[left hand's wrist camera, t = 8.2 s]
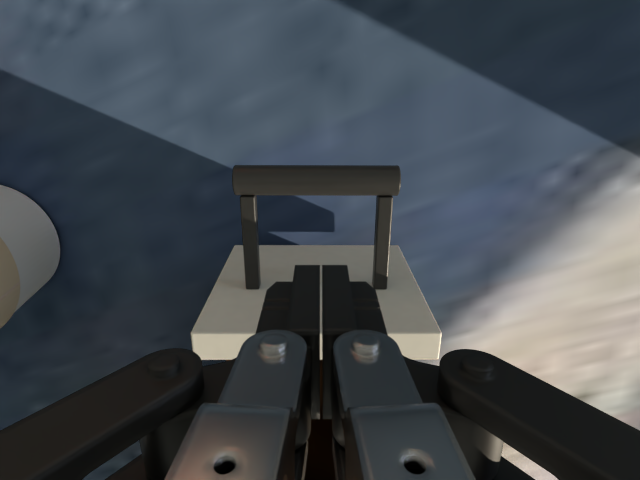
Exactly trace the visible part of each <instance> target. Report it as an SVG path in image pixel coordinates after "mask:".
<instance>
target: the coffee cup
mask: <svg viewBox="0 0 640 480" xmlns="http://www.w3.org/2000/svg"><path fill="white" fill-rule="evenodd" d="M59 260H60V243H59V238H58V235H57V232H56V230H55V227H54V225H53V224H52V222H51V220H50V219H49V217H48V216H47V214H46V213H45V212H44V211H43V210H42V209H41V208H40V207H39V206H38V205H37V204H36V203H35V202H34V201H33V200H31V199H30V198H29V197H27V196H26V195H24V194H22V193H20V192H18V191H16V190H14V189H12V188H9V187H6V186H2V185H0V329H1V328H2V327H3V326H4V325H5V324H6V323H7V322H8V320H9V319H10V318H11V317H12V315H13V313H14V312H16V311H17V310H18V309H19V308H20V307H21V306H22V305H23V304H24V303H25V302H26V301H27V300H28V299H30V298H31V297H32V296H33V295H34V294H35V293H36V292H37V291H38V290H39V289H40V288H41V287H42V286H44V285H45V284H46V283H47V282H48V281H49V280H50V279H51V277H52V276H53V275H54V273H55V271H56V269H57V267H58V264H59Z"/></svg>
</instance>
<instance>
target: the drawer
mask: <svg viewBox="0 0 640 480" xmlns="http://www.w3.org/2000/svg"><path fill="white" fill-rule="evenodd" d="M232 184H233V191H234V194H235V195H241V196H240V206H241V221H242V237H243V245H235V246H234V247H233V249H232V251H231V253H230V255H229V257H228V259H227V261H226V263H225V265H224V267H223V269H222V271H221V273H220V275H219V277H218V279H217V281H216V283H215V285H214V287H213V289H212V291H211V293H210V295H209V297H208V299H207V301H206V303H205V305H204V307H203V309H202V311H201V313H200V315H199V317H198V319H197V321H196V323H195V325H194V327H193V329H192V331H191V341H192V349H193V352H195V353H196V354H198V355H199V357H200V358H201V360H226V361H229V360H232V359H234V358H236V357H237V355H238V353H239V351H240V348H241V346H242V344H243V343H244V342H245V341H246V340H247V339H248V338H249V337H251V336H252V335H254V334H255V333H256V330H257V326H258V322H259V318H260V314H261V310H262V306H263V302H264V299H265V295H266V291H267V289H268V288H270V287H271V286H272V285H273V284H274V283H275V282H293V275H294V268H295V265H320V419H311V432H310V435H309V438H308V454H307V462H306V469H305V477H304V480H336V477H335V469H334V462H333V454H332V419H323V379H322V265H347V266H348V273H349V280H350V281H366V282H367V283H368V284H369V285H371V286H372V287H373V288H374V289H375V290H376V293H377V297H378V302H379V305H380V310H381V312H382V316H383V319H384V323H385V327H386V330H387V334H388V336H389V337H391V338H392V339H393V340H394V341H395V342H396V343H397V344H398V346H399V348H400V351H401V353H402V355H403V356H405V357H407V358H409V359H438V358H439V351H440V343H441V335H442V333H441V331H440V329H439V327H438V325H437V323H436V321H435V319H434V317H433V315H432V313H431V311H430V308H429V306H428V304H427V302H426V300H425V298H424V296H423V294H422V292H421V290H420V288H419V286H418V284H417V282H416V280H415V278H414V276H413V274H412V272H411V270H410V268H409V266H408V264H407V262H406V260H405V258H404V256H403V254H402V252H401V250H400V248H399V246H398V245H390V236H391V221H392V206H393V197H392V196H397V195H398V194H399V191H400V184H401V173H400V168H399V166H348V165H235V166H234V168H233V173H232ZM256 195H377V200H376V219H375V238H374V245H259V237H258V217H257V197H256Z"/></svg>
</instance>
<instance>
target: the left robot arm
mask: <svg viewBox="0 0 640 480" xmlns="http://www.w3.org/2000/svg"><path fill="white" fill-rule="evenodd" d="M322 379H323V419H332V454H333V462H334V469H335V477H336V480H535V479H533V478H532V477H531V476H529V475H528V474H526V473H525V472H523V471H522V470H520V469H519V468H518V467H516V466H515V465H513V464H512V463H510V462H509V461H508V460H506V459H505V458H503V457H502V456H501V453H502V448H503V443H504V442H505V443H506V444H508V445H509V446H511V447H512V448H514V449H515V450H517V451H518V452H520V453H521V454H523V455H524V456H526V457H527V458H529V459H530V460H532V461H533V462H535V463H536V464H538V465H539V466H541V467H542V468H544V469H545V470H547V471H548V472H550V473H551V474H553V475H554V476H555V477H556V478H558V479H559V480H640V431H639V430H637V429H635V428H633V427H632V426H630V425H628V424H626V423H624V422H622V421H620V420H618V419H616V418H614V417H612V416H610V415H608V414H606V413H604V412H602V411H600V410H598V409H597V408H595V407H593V406H591V405H589V404H587V403H585V402H583V401H581V400H579V399H577V398H575V397H573V396H571V395H569V394H567V393H565V392H564V391H562V390H560V389H558V388H556V387H554V386H552V385H550V384H548V383H546V382H544V381H542V380H540V379H538V378H536V377H534V376H532V375H530V374H529V373H527V372H525V371H523V370H521V369H519V368H517V367H515V366H513V365H511V364H509V363H507V362H505V361H503V360H501V359H499V358H497V357H495V356H493V355H491V354H488V353H485V352H482V351H478V350H471V349H460V350H454V351H451V352H448V353H446V354H445V355H444V356H443V357H442V358H441V360H440V366H436V365H431V364H426V363H422V362H418V361H414V360H412V359H409V358H407V357H405V356H403V355H402V353H401V351H400V348H399V346H398V344H397V343H396V342H395V341H394V340H393V339H392V338H391V337H389V336H388V334H387V330H386V327H385V323H384V319H383V316H382V312H381V310H380V305H379V302H378V297H377V293H376V290H375V289H374V288H373V287H372V286H371V285H369V284H368V283H367V282H366V281H350V280H349V273H348V266H347V265H322ZM311 419H320V265H295V268H294V275H293V282H275V283H274V284H273V285H272V286H271V287H270V288H268V289H267V291H266V295H265V299H264V302H263V306H262V310H261V314H260V318H259V322H258V326H257V330H256V333H255V334H254V335H252V336H251V337H249V338H248V339H247V340H246V341H245V342H244V343H243V344H242V346H241V348H240V351H239V353H238V355H237V357H236V358H234V359H232V360H229V361H226V362H222V363H218V364H213V365H208V366H203V367H202V361H201V358H200V357H199V355H198V354H196V353H195V352H193V351H191V350H187V349H181V348H173V349H165V350H160V351H157V352H154V353H151V354H149V355H147V356H145V357H143V358H141V359H139V360H137V361H135V362H133V363H131V364H129V365H127V366H125V367H123V368H121V369H119V370H117V371H115V372H113V373H111V374H110V375H108V376H106V377H104V378H102V379H100V380H98V381H96V382H94V383H92V384H90V385H88V386H86V387H84V388H82V389H80V390H78V391H77V392H75V393H73V394H71V395H69V396H67V397H65V398H63V399H61V400H59V401H57V402H55V403H53V404H51V405H49V406H47V407H45V408H43V409H42V410H40V411H38V412H36V413H34V414H32V415H30V416H28V417H26V418H24V419H22V420H20V421H18V422H16V423H14V424H12V425H10V426H8V427H7V428H5V429H3V430H1V431H0V480H82V479H83V478H84V477H85V476H86V475H88V474H89V473H90V472H92V471H93V470H95V469H96V468H98V467H99V466H101V465H102V464H104V463H105V462H107V461H108V460H110V459H111V458H113V457H114V456H116V455H117V454H119V453H120V452H122V451H123V450H125V449H126V448H128V447H129V446H131V445H132V444H134V443H135V442H137V441H138V440H139V441H140V446H141V451H142V454H141V455H140V456H138V457H137V458H135V459H134V460H132V461H131V462H130V463H128V464H127V465H125V466H124V467H122V468H121V469H120V470H118V471H117V472H115V473H114V474H112V475H111V476H109V477H108V478H107V479H105V480H304V477H305V469H306V462H307V454H308V438H309V435H310V432H311Z"/></svg>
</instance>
